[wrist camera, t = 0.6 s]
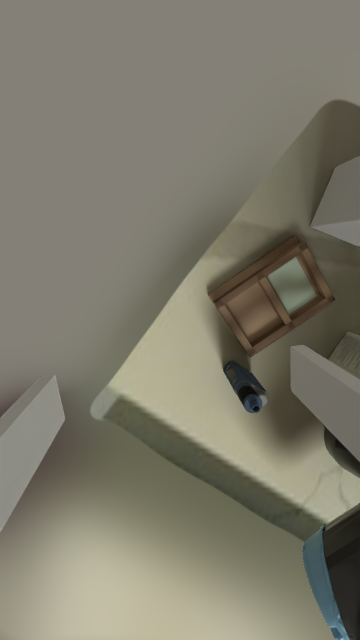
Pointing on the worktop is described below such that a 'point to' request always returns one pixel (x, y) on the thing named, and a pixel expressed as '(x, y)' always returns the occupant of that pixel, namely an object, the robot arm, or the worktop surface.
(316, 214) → the soap bottle
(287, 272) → the divided wooden tray
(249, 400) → the vaping device
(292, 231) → the worktop surface
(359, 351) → the skincare box
